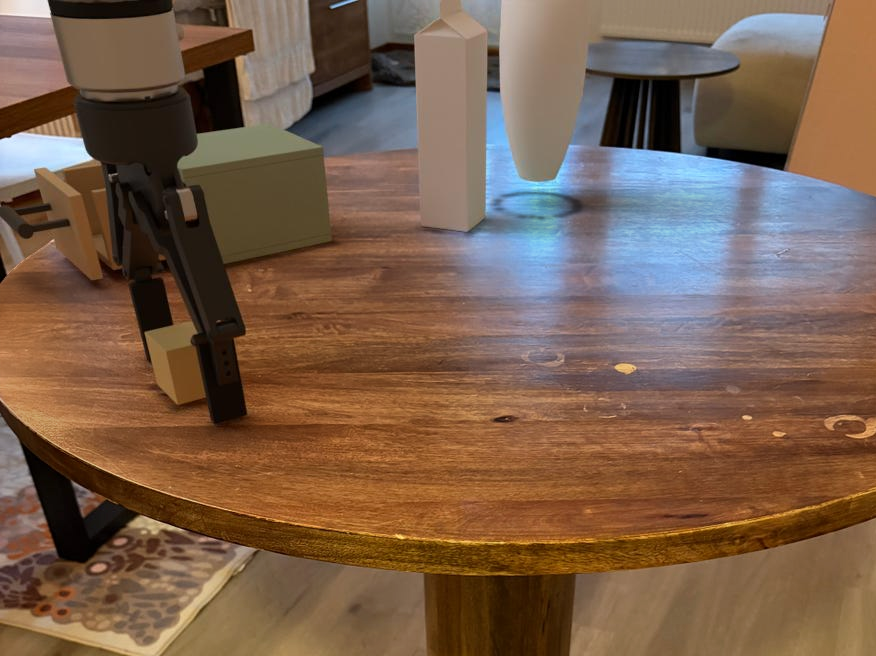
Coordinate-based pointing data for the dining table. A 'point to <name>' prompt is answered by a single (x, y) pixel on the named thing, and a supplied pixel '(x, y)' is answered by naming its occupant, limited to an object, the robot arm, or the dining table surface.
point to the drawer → (72, 216)
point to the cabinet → (260, 190)
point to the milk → (451, 119)
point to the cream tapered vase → (542, 80)
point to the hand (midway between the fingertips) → (194, 386)
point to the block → (176, 362)
